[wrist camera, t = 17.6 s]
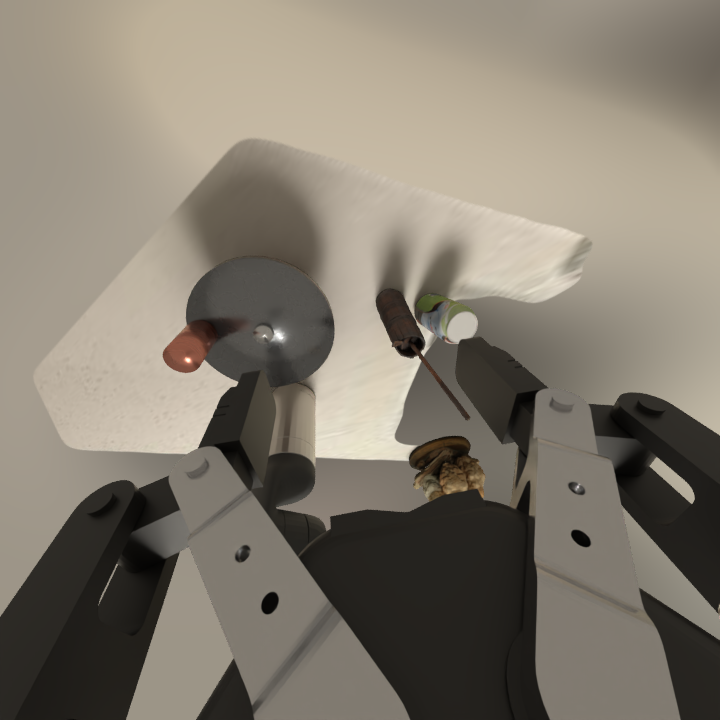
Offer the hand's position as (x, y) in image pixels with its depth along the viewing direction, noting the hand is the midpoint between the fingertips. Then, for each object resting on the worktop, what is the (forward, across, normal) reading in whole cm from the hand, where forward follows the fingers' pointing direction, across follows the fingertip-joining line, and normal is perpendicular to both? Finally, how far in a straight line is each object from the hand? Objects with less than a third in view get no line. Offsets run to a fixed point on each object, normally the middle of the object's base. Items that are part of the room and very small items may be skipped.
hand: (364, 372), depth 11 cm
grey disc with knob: (+25, +10, +8) cm, 28 cm away
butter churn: (+36, -8, +12) cm, 39 cm away
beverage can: (+36, -17, +13) cm, 42 cm away
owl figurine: (+36, -20, +57) cm, 70 cm away
